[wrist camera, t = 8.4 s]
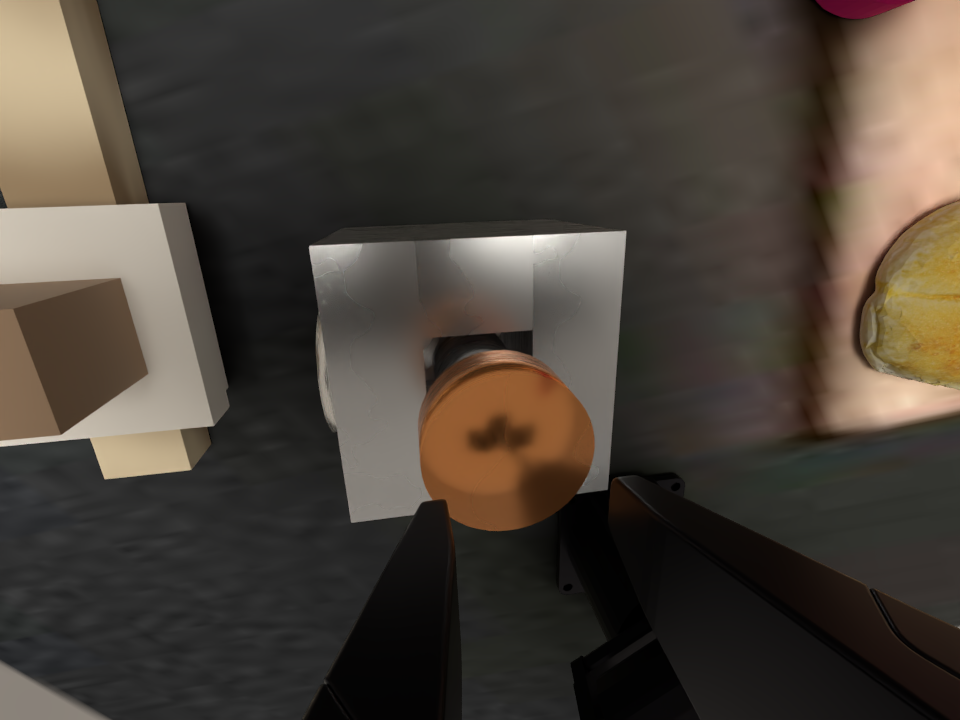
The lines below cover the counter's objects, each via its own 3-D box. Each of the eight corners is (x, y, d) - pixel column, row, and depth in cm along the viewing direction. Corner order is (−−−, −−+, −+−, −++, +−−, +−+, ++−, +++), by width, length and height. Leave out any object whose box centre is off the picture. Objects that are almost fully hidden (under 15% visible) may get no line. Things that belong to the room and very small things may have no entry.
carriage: (247, 385, 19) (154, 499, 12) (53, 402, 18) (-175, 537, 11) (206, 201, 16) (59, 206, 9) (-20, 209, 15) (-373, 220, 8)
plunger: (523, 405, 16) (590, 518, 10) (417, 415, 15) (426, 541, 10) (523, 301, 15) (599, 366, 9) (408, 309, 14) (413, 383, 9)
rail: (211, 443, 20) (191, 469, 18) (133, 451, 19) (104, 479, 17) (58, -148, 13) (1, -205, 11) (-64, -155, 13) (-145, -216, 11)
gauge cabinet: (544, 400, 21) (607, 490, 15) (358, 418, 20) (337, 524, 14) (547, 219, 19) (626, 230, 12) (332, 228, 17) (291, 246, 11)
